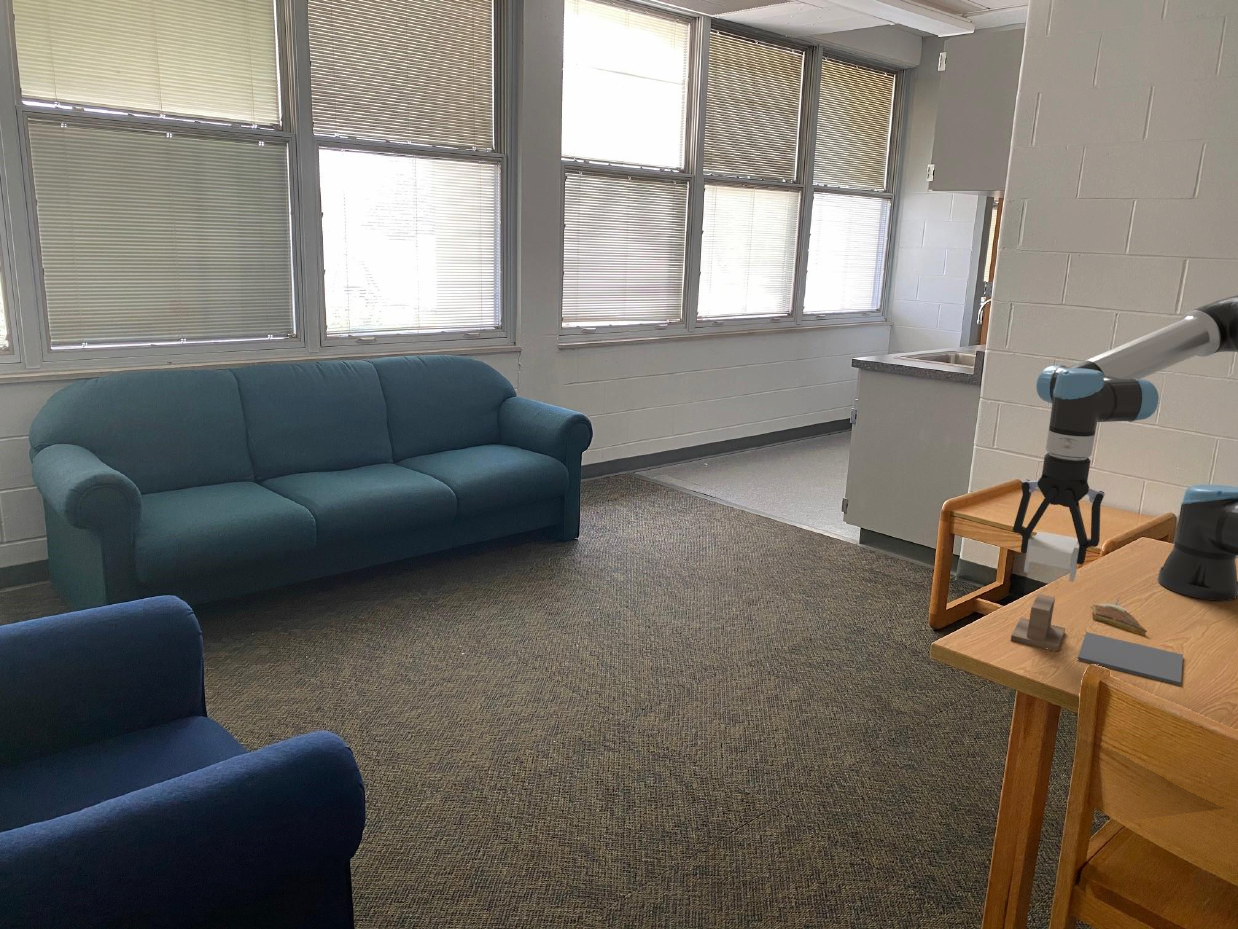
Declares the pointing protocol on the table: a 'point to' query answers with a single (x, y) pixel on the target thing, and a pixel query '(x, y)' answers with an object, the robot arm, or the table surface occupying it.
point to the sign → (1114, 605)
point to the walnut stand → (1039, 626)
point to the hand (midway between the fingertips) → (1049, 574)
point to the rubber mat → (1132, 658)
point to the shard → (1117, 618)
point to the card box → (1052, 550)
